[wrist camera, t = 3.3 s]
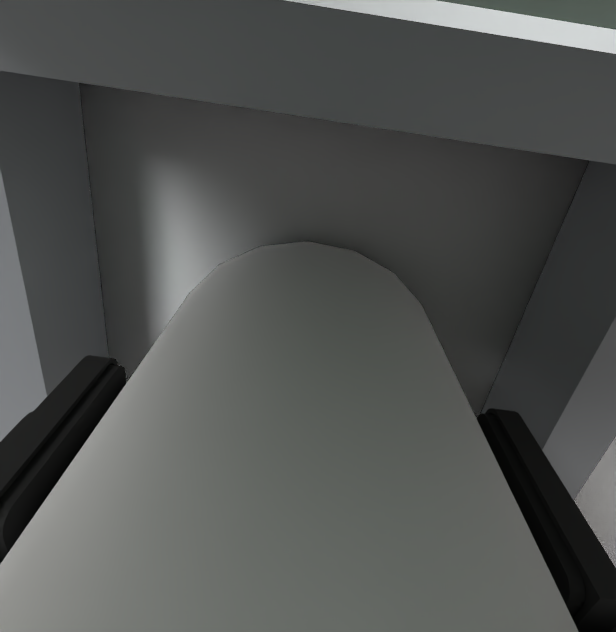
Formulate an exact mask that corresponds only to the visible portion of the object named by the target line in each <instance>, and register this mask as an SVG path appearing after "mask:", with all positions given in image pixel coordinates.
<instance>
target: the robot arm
mask: <svg viewBox="0 0 616 632" xmlns="http://www.w3.org/2000/svg"><path fill="white" fill-rule="evenodd" d="M125 385H126V376H125V369H124V367H122V366H118V363H117V361H116V359H114V358H107V357H99V356H92V355H88V356H85V357H84V358H83V359H82V360H81V361H80V362H79V363H78V364H77V365H76V366H75V367H74V368H73V370H72V371H71V372H70V373H69V374H68V375H67V376H66V377H65V378H64V379H63V380H62V381H61V382H60V383H59V384H58V386H57V387H56V388H55V389H54V390H53V391H52V392H51V393H50V394H49V395H48V396H47V397H46V398H45V399H44V400H43V402H42V403H41V404H40V405H39V406H38V407H37V408H36V409H35V410H34V411H33V412H30V413H28V414H27V415H26V416H25V417H24V418H23V419H22V420H21V421H20V422H19V423H18V424H17V425H16V426H15V427H14V428H13V429H12V430H11V431H10V432H9V433H8V434H7V435H6V436H5V437H4V439H3V440H2V441H1V442H0V564H1V562H2V561H3V560H4V558H5V557H6V555H7V554H8V552H9V551H10V550H11V548H12V547H13V545H14V544H15V542H16V541H17V540H18V538H19V537H20V535H21V534H22V532H23V531H24V529H25V528H26V527H27V525H28V524H29V522H30V521H31V519H32V518H33V517H34V515H35V514H36V512H37V511H38V509H39V508H40V507H41V505H42V504H43V502H44V501H45V499H46V498H47V496H48V495H49V494H50V492H51V491H52V489H53V488H54V486H55V485H56V484H57V482H58V481H59V479H60V478H61V476H62V475H63V474H64V472H65V471H66V469H67V468H68V466H69V465H70V464H71V462H72V461H73V459H74V458H75V456H76V455H77V453H78V452H79V451H80V449H81V448H82V446H83V445H84V443H85V442H86V441H87V439H88V438H89V436H90V435H91V433H92V432H93V431H94V429H95V428H96V426H97V425H98V423H99V422H100V420H101V419H102V418H103V416H104V415H105V413H106V412H107V410H108V409H109V408H110V406H111V405H112V403H113V402H114V400H115V399H116V398H117V396H118V395H119V393H120V392H121V390H122V389H123V387H124V386H125ZM477 421H478V423H479V425H480V427H481V429H482V431H483V433H484V436H485V438H486V440H487V442H488V444H489V446H490V448H491V450H492V452H493V454H494V456H495V458H496V461H497V463H498V465H499V467H500V469H501V471H502V473H503V475H504V477H505V479H506V481H507V483H508V486H509V488H510V490H511V492H512V494H513V496H514V498H515V500H516V502H517V504H518V506H519V508H520V511H521V513H522V515H523V517H524V519H525V521H526V523H527V525H528V527H529V529H530V531H531V534H532V536H533V538H534V540H535V542H536V544H537V546H538V548H539V550H540V552H541V554H542V556H543V559H544V561H545V563H546V565H547V567H548V569H549V571H550V573H551V575H552V577H553V579H554V581H555V584H556V586H557V588H558V590H559V592H560V594H561V596H562V598H563V600H564V602H565V604H566V606H567V609H568V611H569V613H570V615H571V617H572V619H573V621H574V623H575V625H576V627H577V629H578V632H616V568H615V566H614V565H613V563H612V561H611V560H610V558H609V557H608V555H607V553H606V552H605V550H604V549H603V547H602V545H601V544H600V542H599V541H598V539H597V537H596V536H595V534H594V533H593V531H592V529H591V528H590V526H589V525H588V523H587V521H586V520H585V518H584V517H583V515H582V513H581V512H580V510H579V509H578V507H577V505H576V504H575V502H574V500H573V499H572V497H571V496H570V494H569V492H568V491H567V489H566V488H565V486H564V484H563V483H562V481H561V480H560V478H559V476H558V475H557V473H556V472H555V470H554V468H553V467H552V465H551V464H550V462H549V460H548V459H547V457H546V456H545V454H544V452H543V451H542V449H541V448H540V446H539V444H538V443H537V441H536V440H535V438H534V436H533V435H532V433H531V432H530V430H529V428H528V427H527V425H526V424H525V422H524V420H523V419H522V417H521V416H520V414H519V413H518V412H515V411H509V410H502V409H494V408H490V409H488V410H487V411H486V413H485V414H483V413H482V414H480V415H478V417H477Z"/></svg>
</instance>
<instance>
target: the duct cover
mask: <svg viewBox="0 0 616 632" xmlns="http://www.w3.org/2000/svg"><path fill="white" fill-rule="evenodd" d="M438 1H445V2H451V3H457V4H463V5H469V6H475V7H481V8H487V9H493V10H500V11H506V12H512V13H518V14H524V15H530V16H536V17H542V18H549V19H555V20H561V21H567V22H573V23H579V24H585V25H591V26H597V27H604V28H610V29H616V0H438Z"/></svg>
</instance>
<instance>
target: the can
mask: <svg viewBox="0 0 616 632" xmlns="http://www.w3.org/2000/svg"><path fill="white" fill-rule="evenodd" d="M0 632H578V629H577V627H576V625H575V623H574V621H573V619H572V617H571V615H570V613H569V611H568V609H567V606H566V604H565V602H564V600H563V598H562V596H561V594H560V592H559V590H558V588H557V586H556V584H555V581H554V579H553V577H552V575H551V573H550V571H549V569H548V567H547V565H546V563H545V561H544V559H543V556H542V554H541V552H540V550H539V548H538V546H537V544H536V542H535V540H534V538H533V536H532V534H531V531H530V529H529V527H528V525H527V523H526V521H525V519H524V517H523V515H522V513H521V511H520V508H519V506H518V504H517V502H516V500H515V498H514V496H513V494H512V492H511V490H510V488H509V486H508V483H507V481H506V479H505V477H504V475H503V473H502V471H501V469H500V467H499V465H498V463H497V461H496V458H495V456H494V454H493V452H492V450H491V448H490V446H489V444H488V442H487V440H486V438H485V436H484V433H483V431H482V429H481V427H480V425H479V423H478V421H477V419H476V417H475V415H474V413H473V411H472V408H471V406H470V404H469V402H468V400H467V398H466V396H465V394H464V392H463V390H462V388H461V385H460V383H459V381H458V379H457V377H456V375H455V373H454V371H453V369H452V367H451V365H450V363H449V360H448V358H447V356H446V354H445V352H444V350H443V348H442V346H441V344H440V342H439V340H438V338H437V335H436V333H435V331H434V329H433V327H432V325H431V323H430V321H429V319H428V317H427V315H426V313H425V310H424V308H423V306H422V304H421V303H420V302H419V301H418V300H417V299H416V297H415V296H414V295H413V294H412V293H411V292H410V291H409V289H408V288H407V287H406V286H405V285H404V284H403V283H402V282H401V280H400V279H399V278H398V277H397V276H396V275H395V274H394V273H393V272H391V271H389V270H388V269H386V268H384V267H382V266H381V265H379V264H377V263H375V262H373V261H372V260H370V259H368V258H366V257H365V256H363V255H361V254H359V253H357V252H356V251H353V250H348V249H343V248H338V247H334V246H329V245H324V244H319V243H314V242H309V241H305V242H295V243H286V244H276V245H267V246H259V247H257V248H255V249H253V250H250V251H248V252H246V253H244V254H241V255H239V256H237V257H235V258H233V259H230V260H228V261H226V262H224V263H221V264H219V265H218V266H217V267H216V268H215V269H214V270H213V271H212V272H211V273H210V274H209V275H208V276H207V277H206V278H204V279H203V280H202V281H201V282H200V283H199V284H198V285H197V286H196V287H195V288H194V289H193V290H192V291H191V292H190V293H189V294H188V296H187V297H186V299H185V300H184V301H183V303H182V304H181V306H180V307H179V309H178V310H177V311H176V313H175V314H174V316H173V317H172V319H171V320H170V322H169V323H168V324H167V326H166V327H165V329H164V330H163V332H162V333H161V334H160V336H159V337H158V339H157V340H156V342H155V343H154V344H153V346H152V347H151V349H150V350H149V352H148V353H147V354H146V356H145V357H144V359H143V360H142V362H141V363H140V365H139V366H138V367H137V369H136V370H135V372H134V373H133V375H132V376H131V377H130V379H129V380H128V382H127V383H126V385H125V386H124V387H123V389H122V390H121V392H120V393H119V395H118V396H117V398H116V399H115V400H114V402H113V403H112V405H111V406H110V408H109V409H108V410H107V412H106V413H105V415H104V416H103V418H102V419H101V420H100V422H99V423H98V425H97V426H96V428H95V429H94V431H93V432H92V433H91V435H90V436H89V438H88V439H87V441H86V442H85V443H84V445H83V446H82V448H81V449H80V451H79V452H78V453H77V455H76V456H75V458H74V459H73V461H72V462H71V464H70V465H69V466H68V468H67V469H66V471H65V472H64V474H63V475H62V476H61V478H60V479H59V481H58V482H57V484H56V485H55V486H54V488H53V489H52V491H51V492H50V494H49V495H48V496H47V498H46V499H45V501H44V502H43V504H42V505H41V507H40V508H39V509H38V511H37V512H36V514H35V515H34V517H33V518H32V519H31V521H30V522H29V524H28V525H27V527H26V528H25V529H24V531H23V532H22V534H21V535H20V537H19V538H18V540H17V541H16V542H15V544H14V545H13V547H12V548H11V550H10V551H9V552H8V554H7V555H6V557H5V558H4V560H3V561H2V562H1V564H0Z"/></svg>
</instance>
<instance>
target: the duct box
mask: <svg viewBox="0 0 616 632" xmlns="http://www.w3.org/2000/svg"><path fill="white" fill-rule="evenodd" d="M79 83H85V84H91V85H98V86H104V87H111V88H118V89H124V90H131V91H137V92H144V93H150V94H157V95H163V96H170V97H177V98H183V99H190V100H196V101H203V102H209V103H216V104H222V105H229V106H236V107H242V108H249V109H255V110H262V111H268V112H275V113H281V114H288V115H295V116H301V117H308V118H314V119H321V120H327V121H334V122H340V123H347V124H354V125H360V126H367V127H373V128H380V129H386V130H393V131H399V132H406V133H413V134H419V135H426V136H432V137H439V138H445V139H452V140H458V141H465V142H472V143H478V144H485V145H491V146H498V147H504V148H511V149H517V150H524V151H531V152H537V153H544V154H550V155H557V156H563V157H570V158H576V159H583V160H590V161H589V164H588V166H587V168H586V171H585V173H584V175H583V177H582V180H581V182H580V184H579V187H578V189H577V191H576V194H575V196H574V198H573V201H572V203H571V205H570V208H569V210H568V212H567V215H566V217H565V219H564V221H563V224H562V226H561V228H560V231H559V233H558V235H557V238H556V240H555V242H554V245H553V247H552V249H551V252H550V254H549V256H548V259H547V261H546V263H545V265H544V268H543V270H542V272H541V275H540V277H539V279H538V282H537V284H536V286H535V289H534V291H533V293H532V296H531V298H530V300H529V303H528V305H527V307H526V310H525V312H524V314H523V316H522V319H521V321H520V323H519V326H518V328H517V330H516V333H515V335H514V337H513V340H512V342H511V344H510V347H509V349H508V351H507V354H506V356H505V358H504V360H503V363H502V365H501V367H500V370H499V372H498V374H497V377H496V379H495V381H494V384H493V386H492V388H491V391H490V393H489V395H488V398H487V400H486V402H485V404H484V407H483V409H482V411H481V414H482V413H483V414H485V413H486V411H487V410H488V409H490V408H494V409H502V410H509V411H515V412H518V413H519V414H520V416H521V417H522V419H523V420H524V422H525V424H526V425H527V427H528V428H529V430H530V432H531V433H532V435H533V436H534V438H535V440H536V441H537V443H538V444H539V446H540V448H541V449H542V451H543V452H544V454H545V456H546V457H547V459H548V460H549V462H550V464H551V465H552V467H553V468H554V470H555V472H556V473H557V475H558V476H559V478H560V480H561V481H562V483H563V484H564V486H565V488H566V489H567V491H568V492H569V494H570V496H571V497H572V499H573V500H574V499H575V497H576V496H577V494H578V493H579V491H580V490H581V488H582V487H583V485H584V484H585V482H586V481H587V479H588V478H589V476H590V475H591V473H592V471H593V470H594V468H595V467H596V465H597V464H598V462H599V461H600V459H601V458H602V456H603V455H604V453H605V452H606V450H607V449H608V447H609V445H610V444H611V442H612V441H613V439H614V438H615V436H616V54H612V53H606V52H599V51H593V50H587V49H581V48H575V47H568V46H562V45H556V44H550V43H544V42H537V41H531V40H525V39H519V38H513V37H507V36H500V35H494V34H488V33H482V32H476V31H469V30H463V29H457V28H451V27H445V26H438V25H432V24H426V23H420V22H414V21H407V20H401V19H395V18H389V17H383V16H376V15H370V14H364V13H358V12H352V11H346V10H339V9H333V8H327V7H321V6H315V5H308V4H302V3H296V2H290V1H284V0H0V442H1V441H2V440H3V439H4V437H5V436H6V435H7V434H8V433H9V432H10V431H11V430H12V429H13V428H14V427H15V426H16V425H17V424H18V423H19V422H20V421H21V420H22V419H23V418H24V417H25V416H26V415H27V414H28V413H30V412H33V411H34V410H35V409H36V408H37V407H38V406H39V405H40V404H41V403H42V402H43V400H44V399H45V398H46V397H47V396H48V395H49V394H50V393H51V392H52V391H53V390H54V389H55V388H56V387H57V386H58V384H59V383H60V382H61V381H62V380H63V379H64V378H65V377H66V376H67V375H68V374H69V373H70V372H71V371H72V370H73V368H74V367H75V366H76V365H77V364H78V363H79V362H80V361H81V360H82V359H83V358H84V357H85V356H88V355H92V356H99V357H107V358H109V354H108V345H107V336H106V327H105V318H104V308H103V299H102V290H101V281H100V272H99V263H98V253H97V244H96V235H95V226H94V217H93V208H92V199H91V189H90V180H89V171H88V162H87V153H86V144H85V134H84V125H83V116H82V107H81V98H80V89H79Z"/></svg>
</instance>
